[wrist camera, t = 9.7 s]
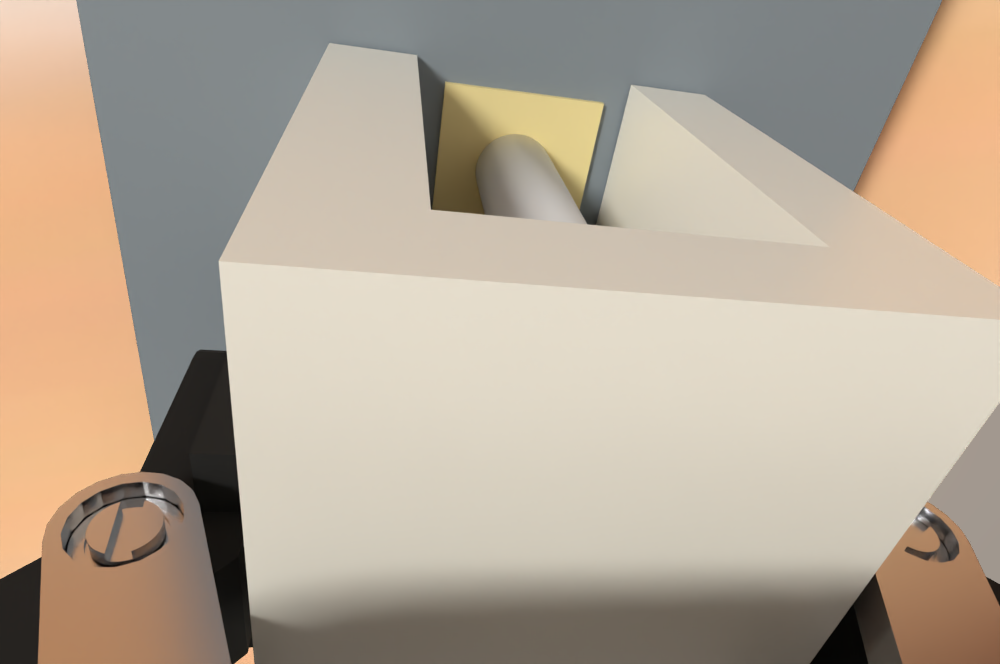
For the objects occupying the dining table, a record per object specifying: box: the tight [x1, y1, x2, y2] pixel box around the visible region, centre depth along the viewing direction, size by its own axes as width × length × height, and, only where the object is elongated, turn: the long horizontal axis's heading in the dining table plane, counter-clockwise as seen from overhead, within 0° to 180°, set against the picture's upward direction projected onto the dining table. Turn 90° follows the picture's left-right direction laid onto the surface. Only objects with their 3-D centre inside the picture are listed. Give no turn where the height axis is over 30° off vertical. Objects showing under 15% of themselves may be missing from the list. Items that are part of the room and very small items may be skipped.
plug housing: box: [219, 43, 1000, 664], centre depth 9 cm, size 9×6×6 cm, turn 171°
